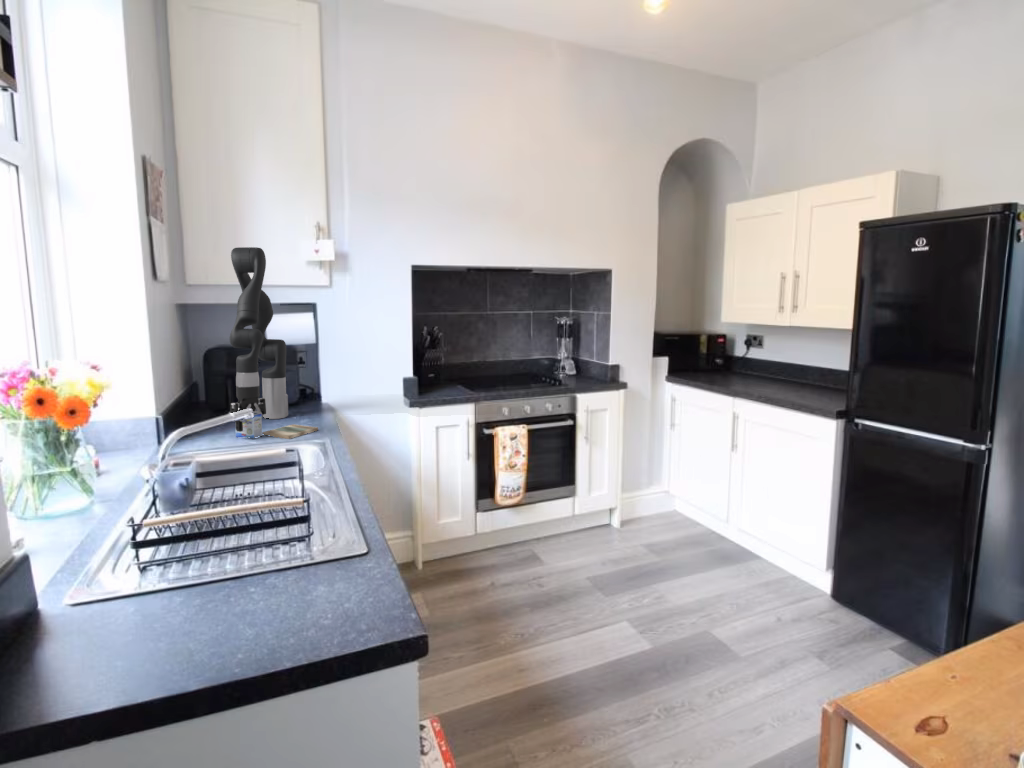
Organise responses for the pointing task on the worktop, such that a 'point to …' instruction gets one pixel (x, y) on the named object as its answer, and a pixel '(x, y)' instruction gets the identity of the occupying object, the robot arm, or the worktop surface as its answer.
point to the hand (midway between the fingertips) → (249, 429)
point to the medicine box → (251, 427)
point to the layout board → (290, 431)
